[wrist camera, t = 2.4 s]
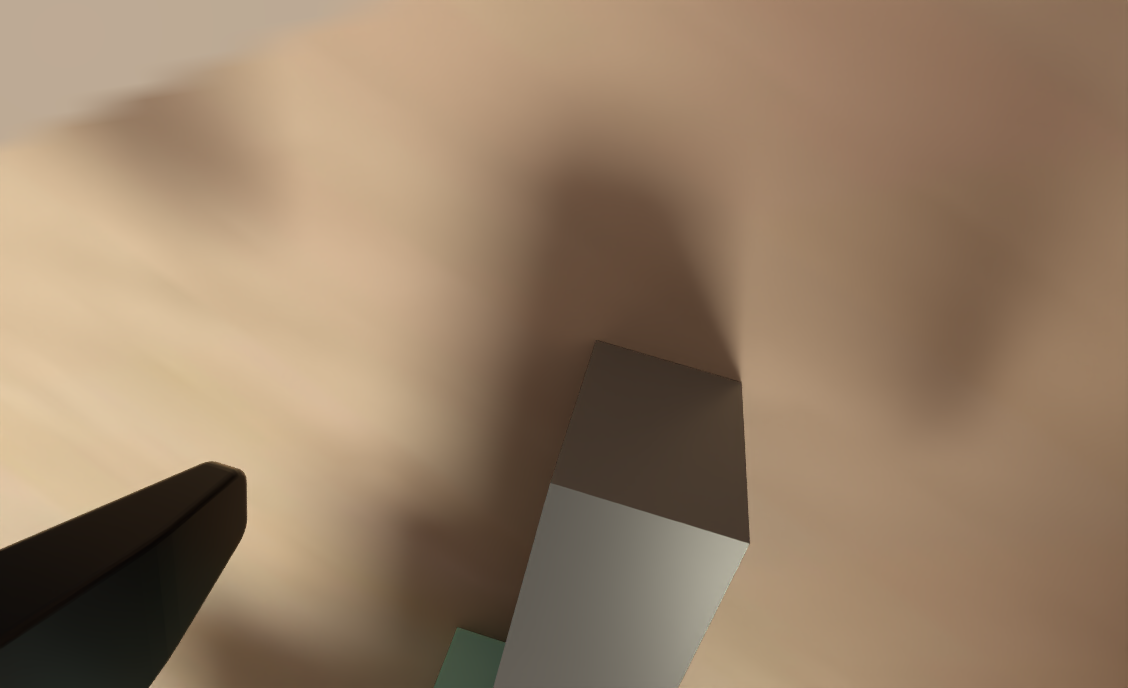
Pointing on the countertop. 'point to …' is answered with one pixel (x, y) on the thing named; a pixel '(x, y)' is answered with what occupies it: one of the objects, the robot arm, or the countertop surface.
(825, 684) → the countertop surface
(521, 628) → the plug
